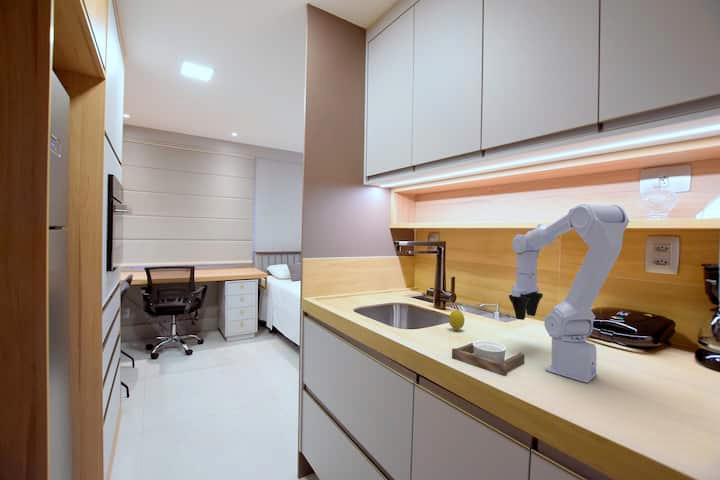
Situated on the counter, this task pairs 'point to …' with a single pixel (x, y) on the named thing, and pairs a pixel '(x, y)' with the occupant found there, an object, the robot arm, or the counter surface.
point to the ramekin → (490, 350)
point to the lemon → (456, 319)
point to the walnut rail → (487, 360)
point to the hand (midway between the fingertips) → (525, 317)
